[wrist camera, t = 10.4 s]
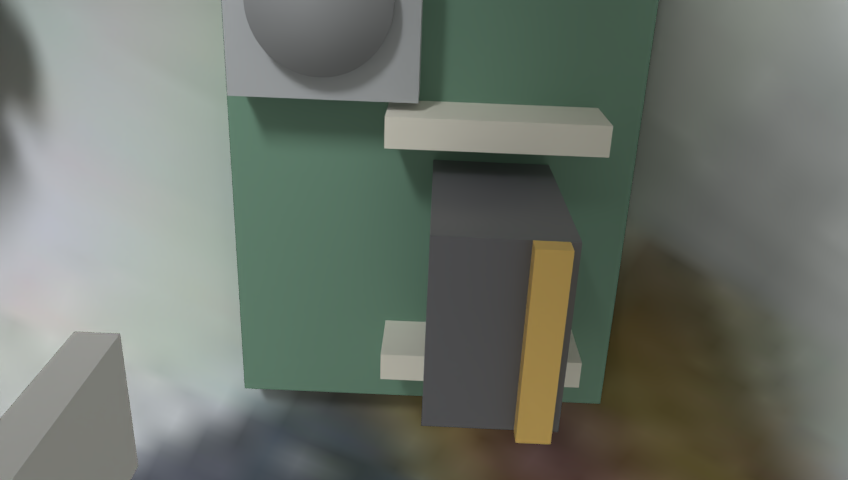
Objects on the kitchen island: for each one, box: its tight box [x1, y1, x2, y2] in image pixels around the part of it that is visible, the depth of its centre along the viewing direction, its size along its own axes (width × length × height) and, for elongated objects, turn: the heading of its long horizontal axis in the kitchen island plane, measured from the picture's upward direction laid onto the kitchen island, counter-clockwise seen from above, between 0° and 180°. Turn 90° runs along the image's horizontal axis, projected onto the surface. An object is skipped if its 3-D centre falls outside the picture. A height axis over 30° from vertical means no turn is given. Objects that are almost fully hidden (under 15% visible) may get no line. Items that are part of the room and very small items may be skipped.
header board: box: [221, 0, 659, 404], centre depth 26 cm, size 18×14×4 cm
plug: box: [421, 160, 582, 444], centre depth 24 cm, size 6×4×8 cm, turn 178°
